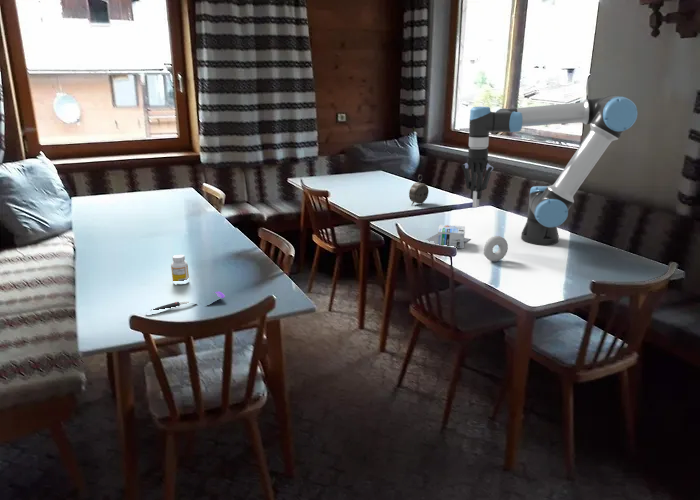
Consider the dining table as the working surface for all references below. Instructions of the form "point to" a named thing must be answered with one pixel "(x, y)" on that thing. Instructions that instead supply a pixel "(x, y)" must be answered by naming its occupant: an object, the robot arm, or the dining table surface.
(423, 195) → the alarm clock
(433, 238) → the mat
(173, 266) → the supplement bottle
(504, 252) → the donut
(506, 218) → the dining table surface
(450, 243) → the light bulb box
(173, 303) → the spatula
